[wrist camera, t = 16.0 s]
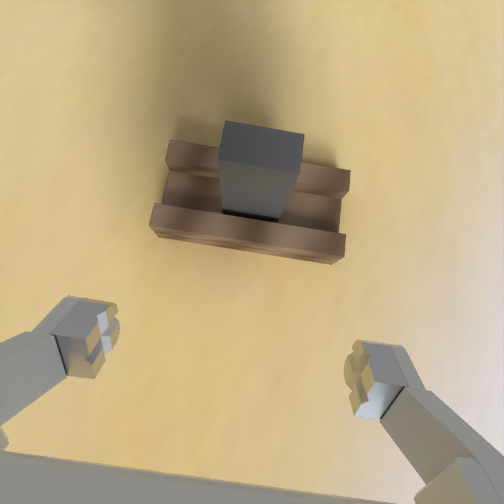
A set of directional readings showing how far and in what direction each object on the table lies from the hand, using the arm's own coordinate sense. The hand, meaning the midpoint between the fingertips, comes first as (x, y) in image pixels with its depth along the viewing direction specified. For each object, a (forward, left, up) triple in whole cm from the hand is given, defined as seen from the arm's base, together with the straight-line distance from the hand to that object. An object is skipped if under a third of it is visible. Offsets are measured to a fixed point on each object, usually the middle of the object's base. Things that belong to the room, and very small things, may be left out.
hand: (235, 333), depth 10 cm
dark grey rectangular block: (-10, +7, -17) cm, 20 cm away
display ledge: (-10, +7, -18) cm, 22 cm away
